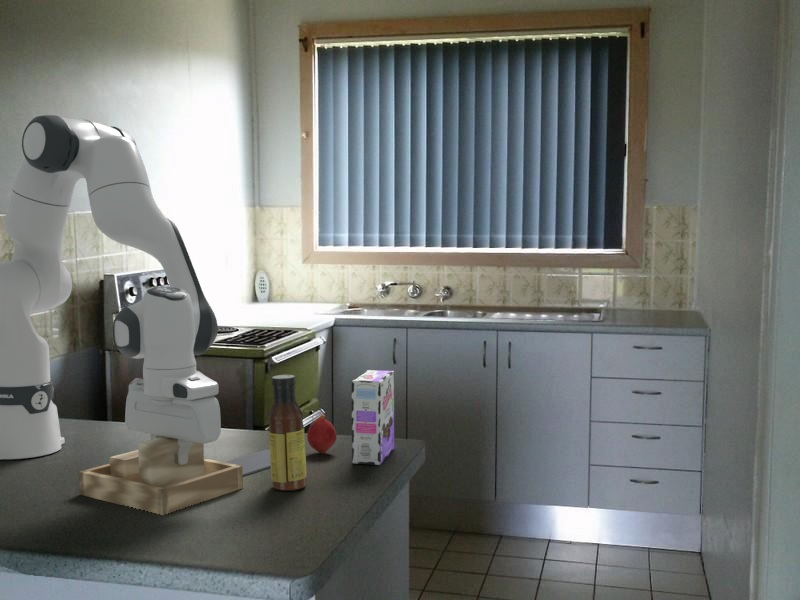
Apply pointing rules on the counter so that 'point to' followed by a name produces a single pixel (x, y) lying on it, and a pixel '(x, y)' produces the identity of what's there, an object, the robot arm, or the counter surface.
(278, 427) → the sauce bottle
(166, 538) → the counter surface
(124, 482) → the wooden tray
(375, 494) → the counter surface
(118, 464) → the offcut beech
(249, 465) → the felt pad
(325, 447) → the onion
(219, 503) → the counter surface
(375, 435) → the candy box
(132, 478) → the offcut oak
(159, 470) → the pale wooden block
